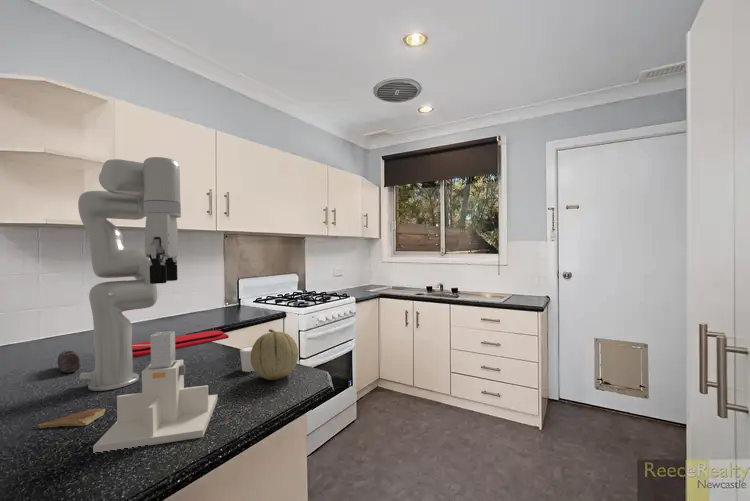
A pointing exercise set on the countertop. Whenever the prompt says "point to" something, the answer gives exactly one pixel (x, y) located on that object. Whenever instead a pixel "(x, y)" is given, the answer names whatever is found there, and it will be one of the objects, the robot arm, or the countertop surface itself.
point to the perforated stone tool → (68, 361)
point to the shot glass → (246, 359)
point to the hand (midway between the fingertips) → (164, 282)
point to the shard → (74, 419)
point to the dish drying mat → (180, 342)
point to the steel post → (162, 350)
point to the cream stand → (159, 411)
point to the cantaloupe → (274, 355)
